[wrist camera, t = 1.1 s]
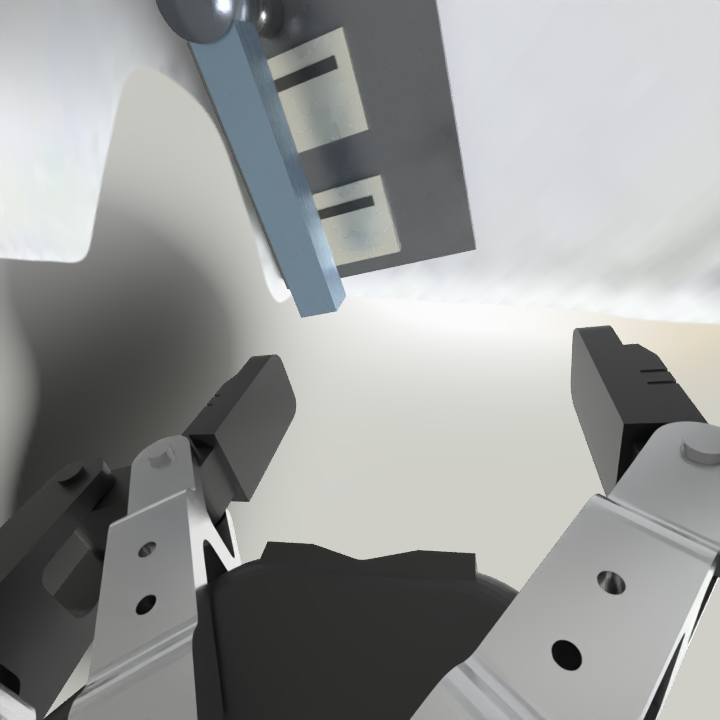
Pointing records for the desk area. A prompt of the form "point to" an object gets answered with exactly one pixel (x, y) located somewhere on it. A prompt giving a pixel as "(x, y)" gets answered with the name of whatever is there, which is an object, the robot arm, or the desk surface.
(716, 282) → the desk surface
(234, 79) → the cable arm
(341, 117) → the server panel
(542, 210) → the desk surface
